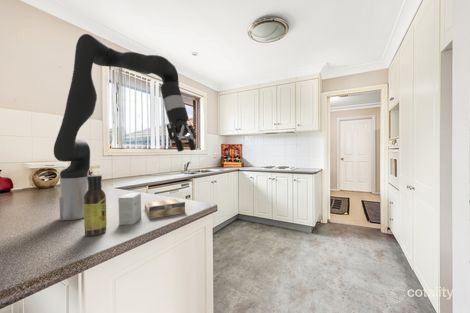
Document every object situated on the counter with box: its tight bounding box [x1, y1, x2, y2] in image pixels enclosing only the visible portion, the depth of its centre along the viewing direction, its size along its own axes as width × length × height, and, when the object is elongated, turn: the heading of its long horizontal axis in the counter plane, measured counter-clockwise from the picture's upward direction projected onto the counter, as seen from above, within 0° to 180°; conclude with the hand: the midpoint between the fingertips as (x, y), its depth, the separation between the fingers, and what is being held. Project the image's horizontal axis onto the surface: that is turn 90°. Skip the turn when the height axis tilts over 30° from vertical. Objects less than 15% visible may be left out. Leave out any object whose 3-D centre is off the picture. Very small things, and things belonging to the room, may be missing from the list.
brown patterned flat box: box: [144, 198, 186, 219], centre depth 94 cm, size 15×16×5 cm
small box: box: [118, 192, 142, 226], centre depth 80 cm, size 8×6×10 cm
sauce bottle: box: [83, 174, 107, 237], centre depth 69 cm, size 6×6×20 cm
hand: (187, 150), depth 77 cm, fingers open, 8 cm apart
